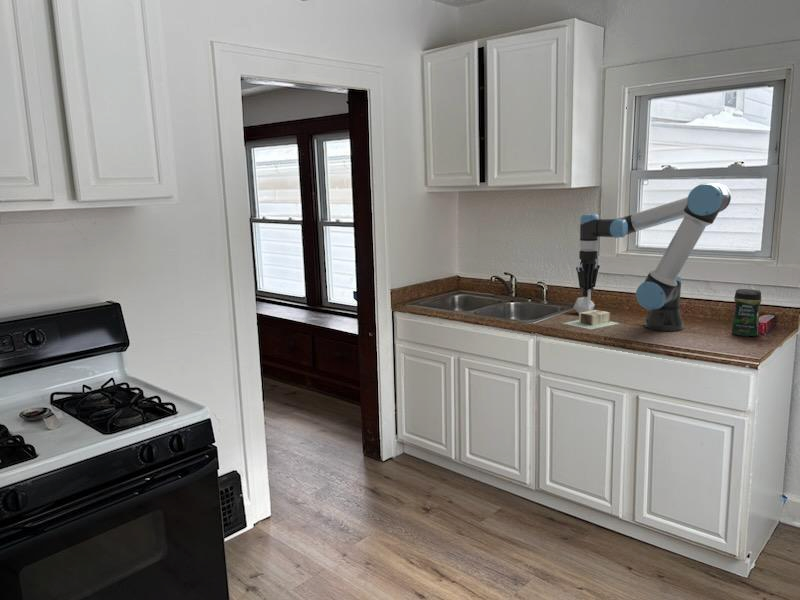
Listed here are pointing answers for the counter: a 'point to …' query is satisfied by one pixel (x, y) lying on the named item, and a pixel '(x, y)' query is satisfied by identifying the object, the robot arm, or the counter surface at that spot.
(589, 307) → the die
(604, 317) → the maple slab
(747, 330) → the coffee jar
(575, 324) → the mat
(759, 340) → the counter surface
